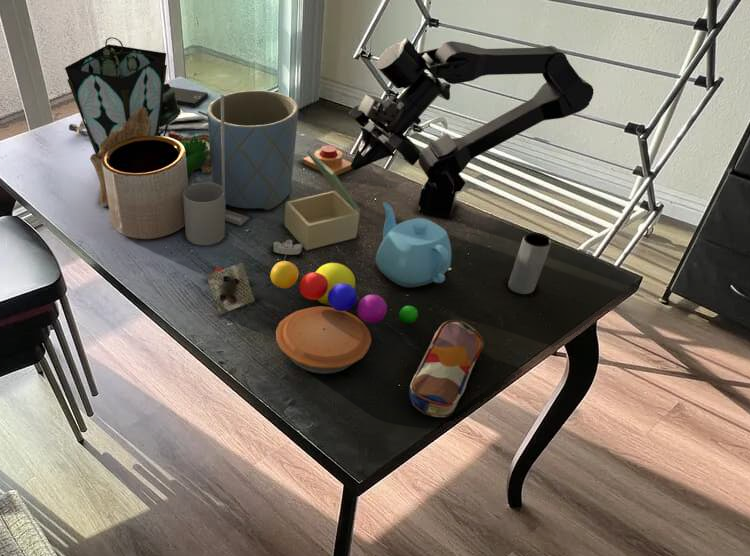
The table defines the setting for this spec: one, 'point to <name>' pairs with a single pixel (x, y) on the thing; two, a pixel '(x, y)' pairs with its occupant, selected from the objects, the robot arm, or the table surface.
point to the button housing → (330, 162)
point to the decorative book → (205, 138)
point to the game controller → (287, 248)
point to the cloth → (188, 122)
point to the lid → (333, 181)
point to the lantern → (117, 88)
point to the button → (328, 151)
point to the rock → (132, 128)
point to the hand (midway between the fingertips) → (352, 168)
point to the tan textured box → (230, 288)
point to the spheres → (336, 290)
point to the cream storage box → (321, 220)
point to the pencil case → (445, 369)
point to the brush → (228, 216)
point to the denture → (174, 135)
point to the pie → (323, 339)
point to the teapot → (413, 251)
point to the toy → (194, 156)
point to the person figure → (78, 128)
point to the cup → (204, 213)
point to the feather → (180, 129)
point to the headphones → (168, 108)
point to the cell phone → (189, 96)
